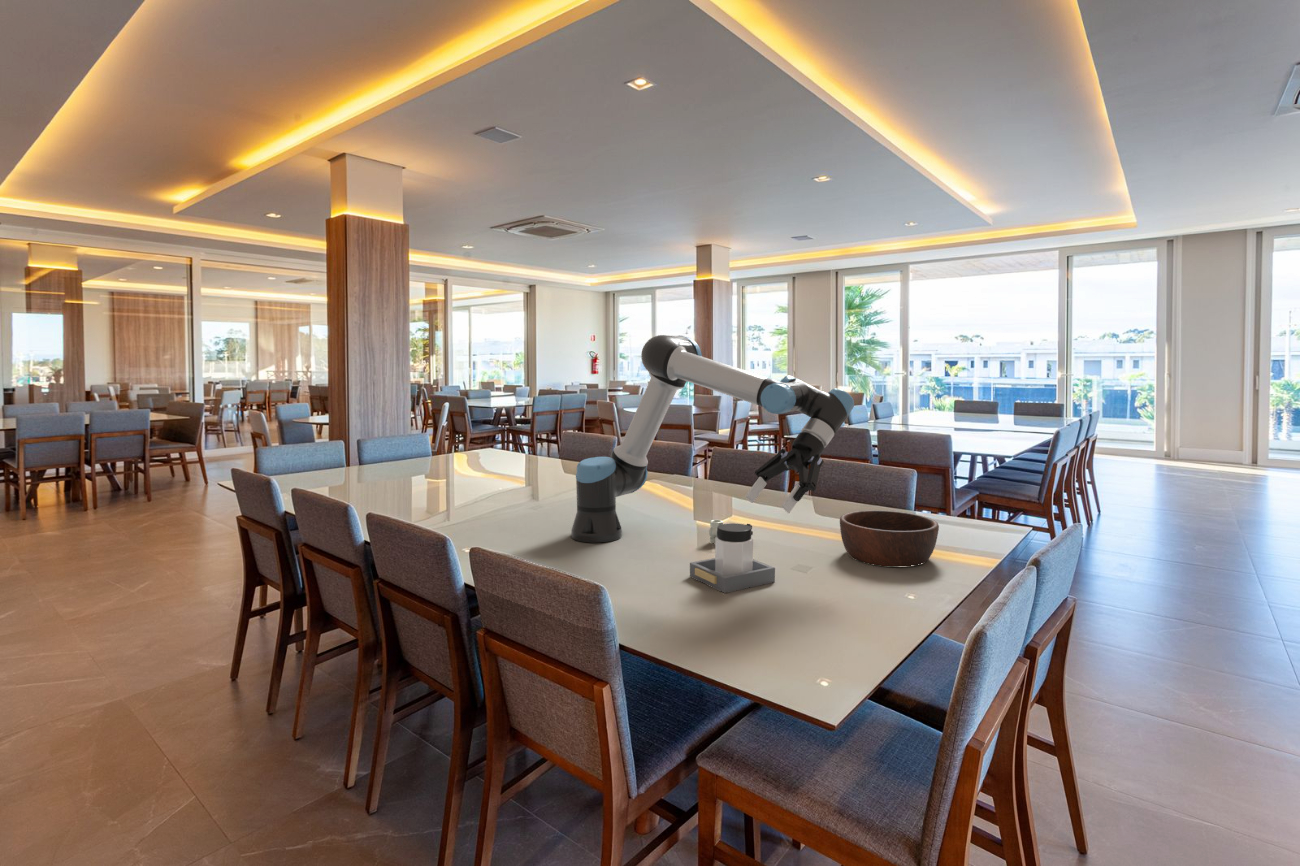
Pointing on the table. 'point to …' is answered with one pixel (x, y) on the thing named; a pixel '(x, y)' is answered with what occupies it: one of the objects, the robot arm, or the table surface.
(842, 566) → the table surface
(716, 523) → the valve
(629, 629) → the table surface
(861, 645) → the table surface
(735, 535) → the jar
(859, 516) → the wooden bowl
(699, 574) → the tray
